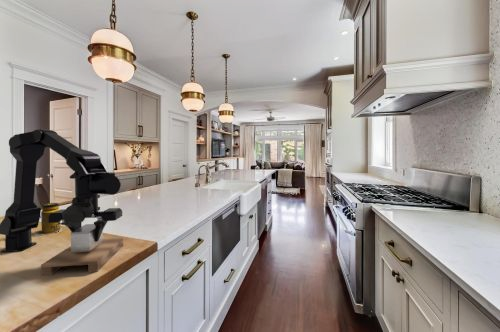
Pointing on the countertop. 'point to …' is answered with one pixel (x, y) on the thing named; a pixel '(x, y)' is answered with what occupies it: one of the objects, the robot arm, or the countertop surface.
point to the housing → (84, 239)
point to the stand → (84, 257)
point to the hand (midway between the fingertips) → (87, 241)
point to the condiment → (46, 226)
